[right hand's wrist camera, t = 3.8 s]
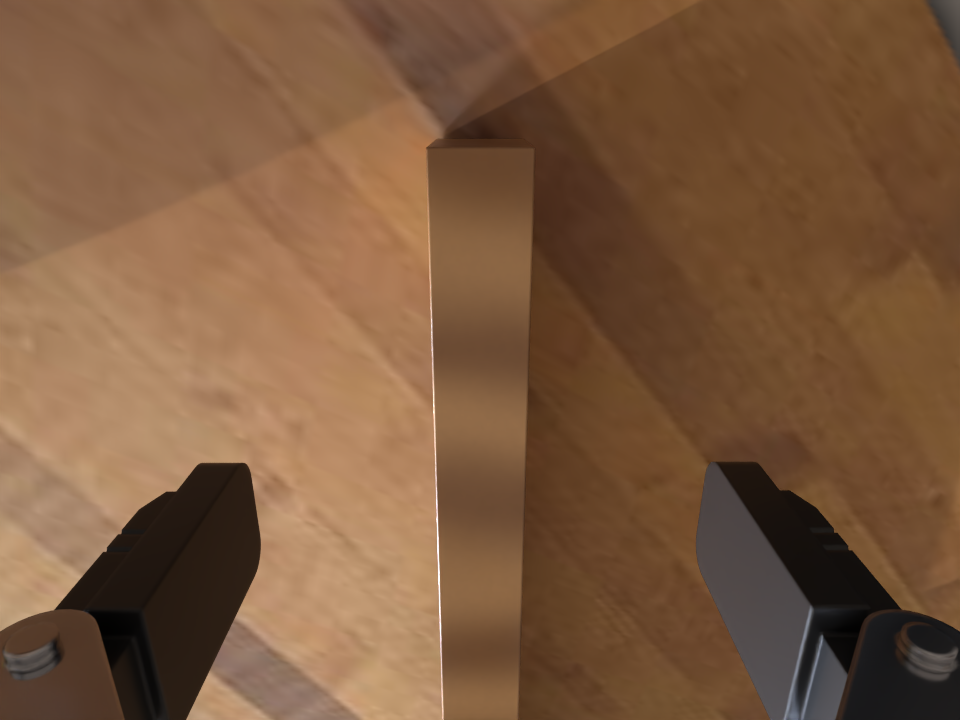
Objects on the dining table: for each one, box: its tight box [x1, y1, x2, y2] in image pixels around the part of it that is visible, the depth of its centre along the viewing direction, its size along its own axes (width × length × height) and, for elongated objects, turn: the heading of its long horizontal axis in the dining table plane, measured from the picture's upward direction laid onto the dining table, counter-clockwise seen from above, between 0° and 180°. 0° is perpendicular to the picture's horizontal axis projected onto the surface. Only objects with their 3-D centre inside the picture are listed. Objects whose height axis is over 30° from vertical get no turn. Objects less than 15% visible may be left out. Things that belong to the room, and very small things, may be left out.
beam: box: [426, 139, 536, 720], centre depth 38 cm, size 50×4×6 cm, turn 0°
